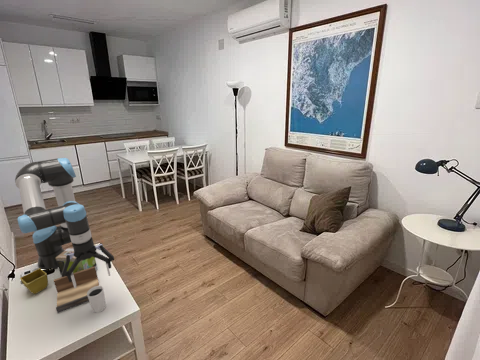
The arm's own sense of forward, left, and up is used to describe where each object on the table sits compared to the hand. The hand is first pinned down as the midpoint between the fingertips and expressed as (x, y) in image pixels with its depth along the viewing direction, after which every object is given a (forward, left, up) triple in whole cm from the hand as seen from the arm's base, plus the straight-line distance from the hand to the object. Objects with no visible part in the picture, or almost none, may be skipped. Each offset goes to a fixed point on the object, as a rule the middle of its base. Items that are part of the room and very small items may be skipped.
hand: (92, 280), depth 113 cm
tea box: (-32, -7, -16) cm, 37 cm away
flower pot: (-31, -26, -16) cm, 44 cm away
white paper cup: (0, 0, -16) cm, 16 cm away
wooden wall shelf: (-15, -8, -16) cm, 23 cm away
